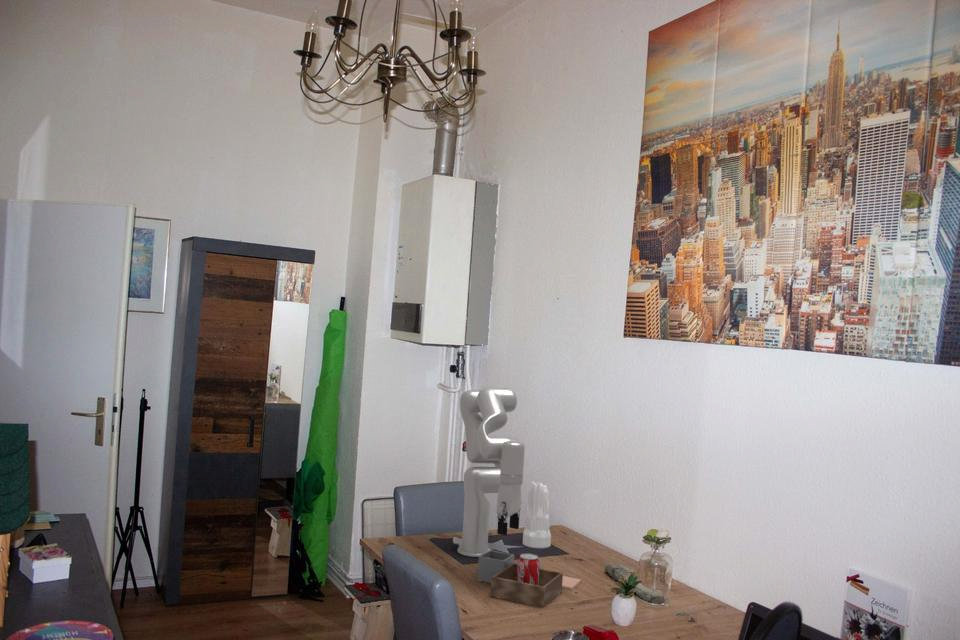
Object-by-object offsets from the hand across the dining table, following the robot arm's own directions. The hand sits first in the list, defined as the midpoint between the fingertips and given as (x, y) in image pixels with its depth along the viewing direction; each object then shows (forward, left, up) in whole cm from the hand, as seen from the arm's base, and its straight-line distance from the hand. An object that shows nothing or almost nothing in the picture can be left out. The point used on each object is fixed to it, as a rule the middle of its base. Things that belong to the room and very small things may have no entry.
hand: (508, 531), depth 263 cm
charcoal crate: (-4, +2, -17) cm, 18 cm away
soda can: (+10, -5, -18) cm, 20 cm away
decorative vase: (-8, +51, -18) cm, 55 cm away
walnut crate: (+10, -5, -17) cm, 20 cm away
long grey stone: (+36, +24, -18) cm, 47 cm away
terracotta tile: (+16, +12, -17) cm, 26 cm away
